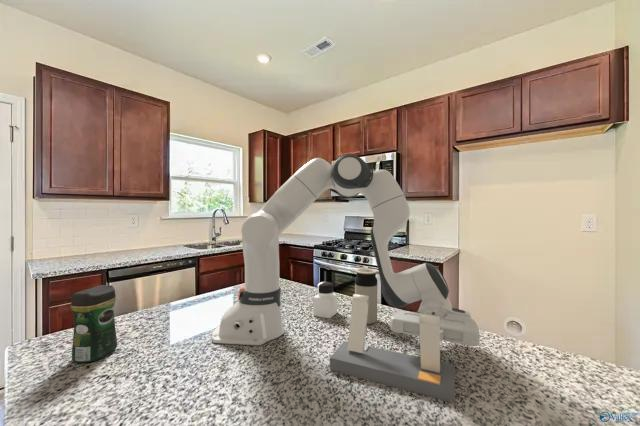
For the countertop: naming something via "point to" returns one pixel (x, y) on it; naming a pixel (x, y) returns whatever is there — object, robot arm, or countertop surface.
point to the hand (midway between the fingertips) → (430, 339)
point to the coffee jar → (93, 323)
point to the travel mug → (368, 291)
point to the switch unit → (395, 371)
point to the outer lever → (430, 342)
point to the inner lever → (358, 323)
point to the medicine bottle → (325, 301)
